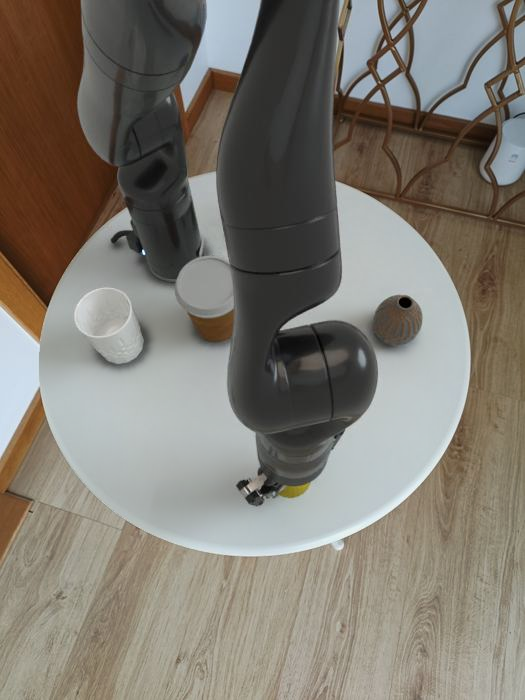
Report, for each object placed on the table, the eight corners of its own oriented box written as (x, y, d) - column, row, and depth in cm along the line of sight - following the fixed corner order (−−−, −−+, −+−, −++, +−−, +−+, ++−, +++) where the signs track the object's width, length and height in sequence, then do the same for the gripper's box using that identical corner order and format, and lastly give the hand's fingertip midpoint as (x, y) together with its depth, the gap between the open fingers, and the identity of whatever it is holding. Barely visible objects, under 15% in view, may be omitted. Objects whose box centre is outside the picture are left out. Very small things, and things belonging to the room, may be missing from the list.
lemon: (306, 506, 70) (309, 495, 63) (264, 498, 70) (263, 486, 63) (313, 465, 72) (317, 450, 65) (272, 457, 73) (272, 441, 65)
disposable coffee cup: (174, 319, 83) (159, 276, 73) (224, 287, 86) (216, 241, 75) (209, 363, 80) (199, 325, 69) (260, 328, 82) (257, 286, 71)
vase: (423, 325, 82) (439, 295, 74) (403, 360, 79) (417, 332, 71) (382, 304, 83) (393, 273, 76) (362, 338, 81) (371, 309, 73)
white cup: (158, 342, 82) (143, 310, 73) (119, 377, 79) (98, 348, 70) (124, 312, 84) (106, 277, 75) (85, 345, 82) (61, 313, 73)
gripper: (325, 371, 56) (314, 420, 71) (212, 453, 52) (226, 486, 68) (373, 426, 53) (351, 465, 68) (258, 516, 50) (262, 536, 65)
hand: (289, 476), depth 68 cm, fingers closed on lemon, 5 cm apart
